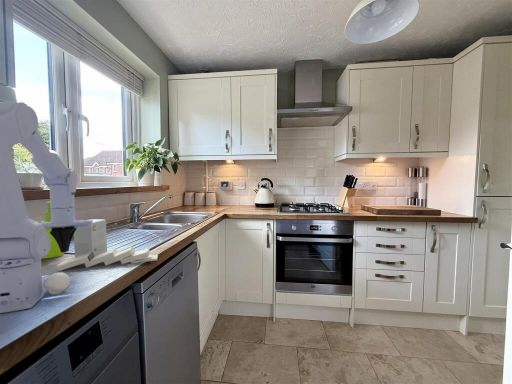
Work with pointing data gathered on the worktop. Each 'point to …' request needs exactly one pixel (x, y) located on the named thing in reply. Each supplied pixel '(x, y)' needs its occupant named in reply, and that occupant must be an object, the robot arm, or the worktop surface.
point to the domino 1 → (75, 261)
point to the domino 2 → (101, 258)
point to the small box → (91, 238)
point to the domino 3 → (120, 256)
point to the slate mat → (80, 267)
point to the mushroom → (57, 283)
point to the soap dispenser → (54, 247)
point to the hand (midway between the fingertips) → (64, 251)
